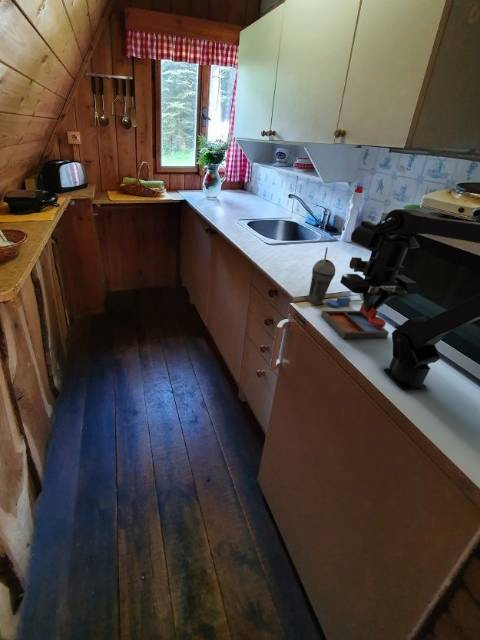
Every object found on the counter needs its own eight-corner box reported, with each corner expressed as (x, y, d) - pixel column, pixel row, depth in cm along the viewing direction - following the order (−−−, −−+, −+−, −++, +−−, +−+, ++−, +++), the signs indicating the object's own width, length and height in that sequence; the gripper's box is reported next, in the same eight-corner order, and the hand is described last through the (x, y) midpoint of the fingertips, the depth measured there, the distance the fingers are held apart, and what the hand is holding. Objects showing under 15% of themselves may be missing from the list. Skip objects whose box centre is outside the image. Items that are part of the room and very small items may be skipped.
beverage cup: (329, 307, 104) (346, 253, 96) (308, 305, 103) (323, 250, 96) (321, 296, 110) (336, 245, 103) (301, 294, 110) (315, 242, 103)
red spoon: (355, 310, 84) (358, 302, 83) (367, 310, 85) (370, 302, 84) (375, 327, 77) (378, 318, 76) (387, 327, 78) (391, 318, 77)
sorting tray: (386, 338, 90) (389, 332, 89) (343, 339, 87) (345, 333, 87) (360, 315, 101) (362, 310, 100) (320, 316, 98) (322, 310, 97)
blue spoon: (344, 302, 108) (346, 295, 107) (351, 307, 105) (353, 300, 104) (324, 302, 107) (327, 295, 106) (331, 307, 104) (333, 300, 102)
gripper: (395, 247, 85) (376, 296, 91) (336, 245, 82) (320, 295, 88) (430, 264, 75) (406, 317, 81) (364, 262, 72) (344, 318, 78)
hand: (368, 311), depth 82 cm, fingers closed on red spoon
